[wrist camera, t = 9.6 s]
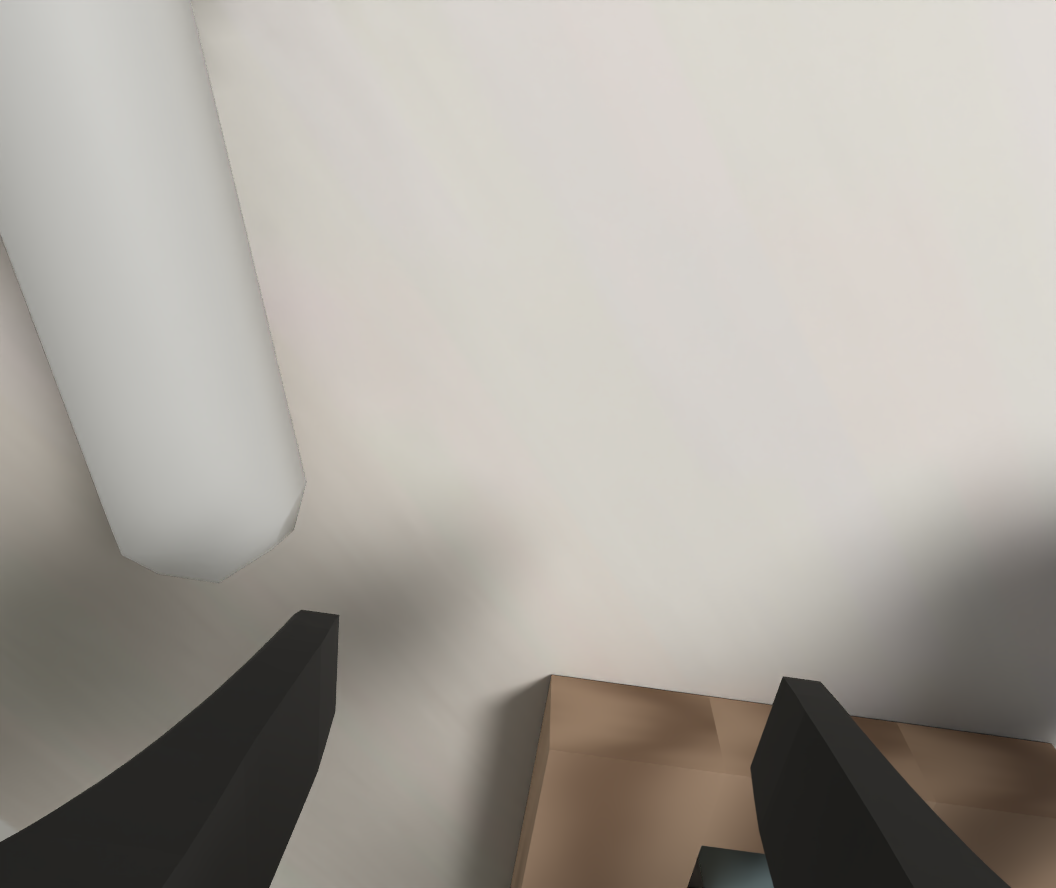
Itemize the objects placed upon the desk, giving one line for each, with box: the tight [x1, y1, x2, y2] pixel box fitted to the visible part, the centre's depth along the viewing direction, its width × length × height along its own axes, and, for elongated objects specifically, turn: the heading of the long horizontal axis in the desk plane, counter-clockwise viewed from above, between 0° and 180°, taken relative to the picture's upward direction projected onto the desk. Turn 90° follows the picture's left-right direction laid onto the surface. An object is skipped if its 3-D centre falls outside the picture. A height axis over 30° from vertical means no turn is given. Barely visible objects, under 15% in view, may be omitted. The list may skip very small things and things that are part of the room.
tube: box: [0, 0, 306, 583], centre depth 15 cm, size 5×5×25 cm
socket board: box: [510, 675, 1056, 888], centre depth 26 cm, size 16×12×3 cm
